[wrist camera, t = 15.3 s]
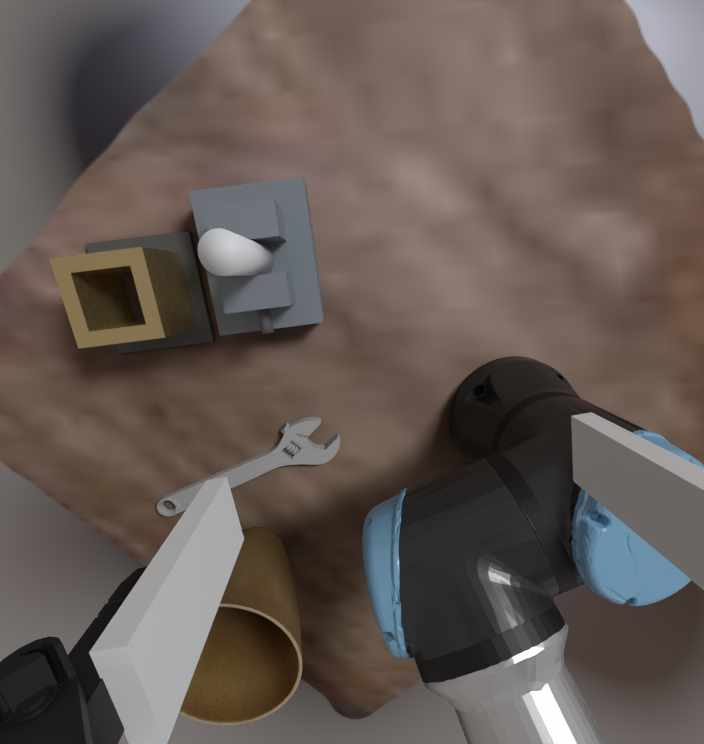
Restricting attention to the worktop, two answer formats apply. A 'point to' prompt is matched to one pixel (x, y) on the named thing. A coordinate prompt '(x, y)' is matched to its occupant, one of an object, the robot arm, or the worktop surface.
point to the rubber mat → (194, 282)
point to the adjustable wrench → (263, 462)
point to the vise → (259, 255)
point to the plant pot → (250, 640)
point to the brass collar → (123, 295)
